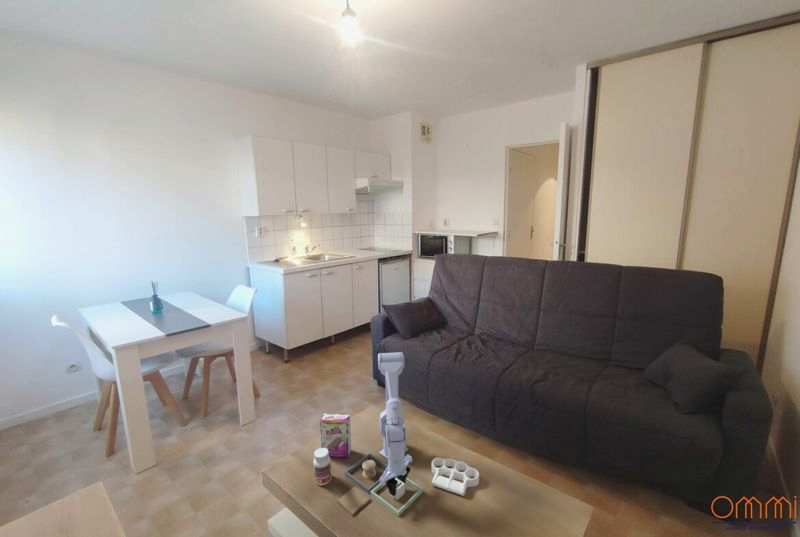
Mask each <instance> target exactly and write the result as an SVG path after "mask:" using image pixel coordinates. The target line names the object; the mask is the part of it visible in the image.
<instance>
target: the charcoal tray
mask: <svg viewBox="0 0 800 537" xmlns="http://www.w3.org/2000/svg"><path fill="white" fill-rule="evenodd" d="M366 460H373V461H374V462H375V463H377V464H378V465H379V466H381V467H382V468H384V469H385V470H386V468H387V466H388V463H386V462H384V461H382V460H381V459H379V458H378V457H377V456H375V455H373V454H372V453H370V452H369V453H368V454H366V455H365V456H364V457H363V458H361V459H359V460H358V461H357V462H355V463H354V464H353V465H352V466H350V467H349V468H348V469H346V470H345V471H344V476H345V477H346V478H348V480H350V481H351V482H352V483H353V484H355V485H357V486H358V487H359V488H361V489H362V490H363V491H365V493H367V494H368V495H369V494H371V493H370V491H372V490H373V489H374V488H375V487H376V486H378V485H379V484H380V478H379V479H378V480H376V482H374V483H373V484H372V485H370V486H369V487H368V486H367V485H365V484H364V483H363V482H361V481H360V480H359V479H357V478H356V477H355V476H354V475H352V474H351V473H352V472H353V471H354V470H356V469H357V468H359V467H360V466H362V464H363V462H364V461H366Z"/></svg>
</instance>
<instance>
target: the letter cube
mask: <svg viewBox="0 0 800 537" xmlns="http://www.w3.org/2000/svg"><path fill="white" fill-rule="evenodd" d="M394 478H395V480H397V481H398V483H397V485H396V494H395V496H392V495H391V494H390V493H389V492H388V495H389V496H391V497H392V498H393V499H395V500H396V501H398V500H400V499H401V498H402V497H403V496H404V495H405V494H406V482H405V483H403V482H402V481H400V480H399V479H398V477H394Z"/></svg>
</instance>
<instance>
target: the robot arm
mask: <svg viewBox="0 0 800 537" xmlns="http://www.w3.org/2000/svg"><path fill="white" fill-rule="evenodd" d="M377 365H378V366H377V367H378V370H379V371H380V374H382V375H383V376H384V377H385V379H384V380H385V409H384V410H383V411H381V412H380V414H379V434H380V435H382V437H383V440H382V441H383V442H382V443H383V445H382V446H383V448H382V449H381V450H380V451H379V452H378V453H379V455H381V456H383V457H384V458H385V459H387V465H388V466H387V468H386V469H385V470H384V471H383V473H382V475H381V476H380V477H379V479H380V483H381V484H382V485H383V487H384V486H387V489H388V494H389V493H390V494H391V495H392V496H395V494H396V485H397V483H398V481H397V480H395V478H397V479H399V480H400V481H402V482H403V483H405V484H406V482H405V481H406V478H408V476H409V474H410V472H411V468H410V467H409V466H408V465H409V464H411V463H412V462H413V456H412V455H410V454H406V455H405V453H407V452H408V451H409V448H408V447H407V446H408V445H407V442H408V441H407V437H408V436H407V432H406V431H407V430H406V428H407V427H406V424H405V416H404V410H403V402H402V400H400V398H399V376H400V375H401V374H402V373H403V369H404V368H405V354H404V353H403V351H400V352H382V353H381V352H378V354H377ZM391 495H390V496H391ZM392 496H391V497H392Z"/></svg>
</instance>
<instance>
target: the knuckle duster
mask: <svg viewBox="0 0 800 537" xmlns="http://www.w3.org/2000/svg"><path fill="white" fill-rule="evenodd" d="M430 467H431V473H432V474H433V478H432V481H431V485H432V486H433V487H437V488H439V489H443V490H446V492H451V493H454V494H457V495H460V496H461V497H464V496H465V495H466V492H467V489H468V488H470V487H471V488H473V487H476V486H478V485H479V483H480V472H479V470H478V469H477V468H474V467H471V466H469V465H468V464H467V463H466V462H464V461H459V460H456V459H455V458H450V457H449V458H442V457H435V458H433V459H432V460H431V466H430ZM449 467H451V468H449ZM445 476H446V477H445ZM448 477H449V478H448ZM471 477H473V478H471ZM458 480H459V481H458ZM461 481H462V482H461Z"/></svg>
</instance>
